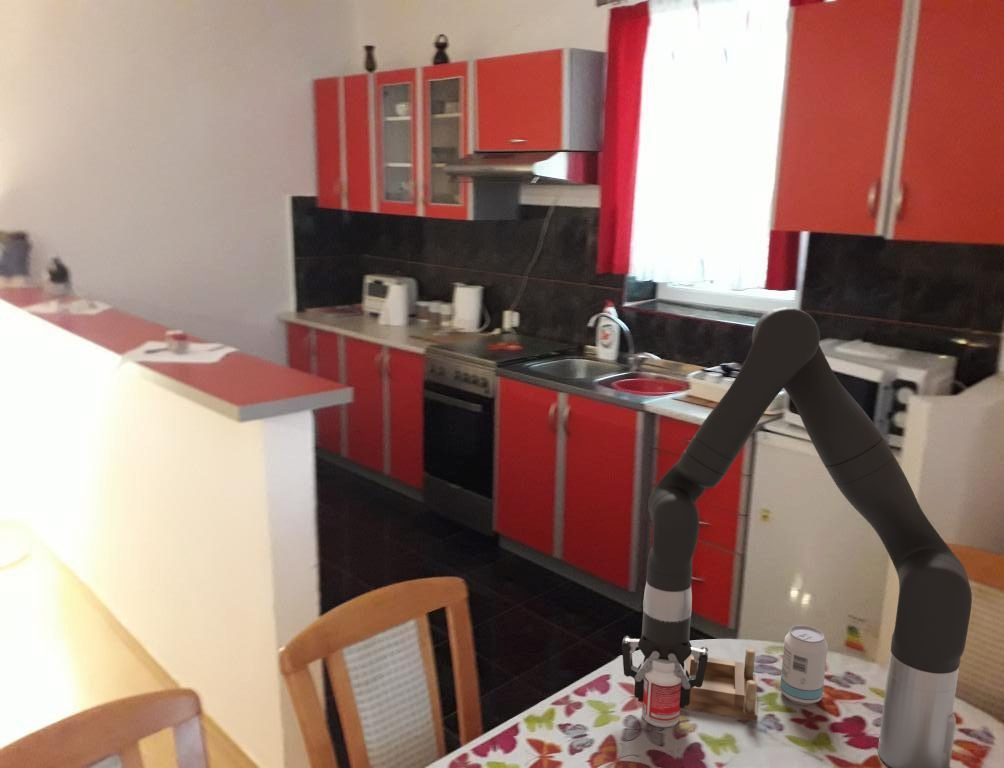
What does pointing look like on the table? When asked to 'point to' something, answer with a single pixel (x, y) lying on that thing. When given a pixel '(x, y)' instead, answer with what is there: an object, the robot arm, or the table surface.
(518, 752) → the table surface
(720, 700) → the holder
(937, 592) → the robot arm
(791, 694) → the beverage can
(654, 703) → the pill bottle
